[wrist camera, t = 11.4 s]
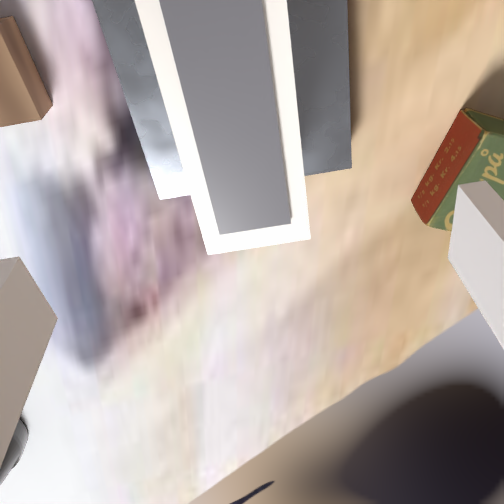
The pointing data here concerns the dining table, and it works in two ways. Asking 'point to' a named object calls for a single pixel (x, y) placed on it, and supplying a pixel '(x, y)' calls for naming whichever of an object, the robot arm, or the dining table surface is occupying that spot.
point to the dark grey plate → (305, 74)
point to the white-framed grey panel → (232, 116)
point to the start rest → (19, 79)
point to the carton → (461, 166)
